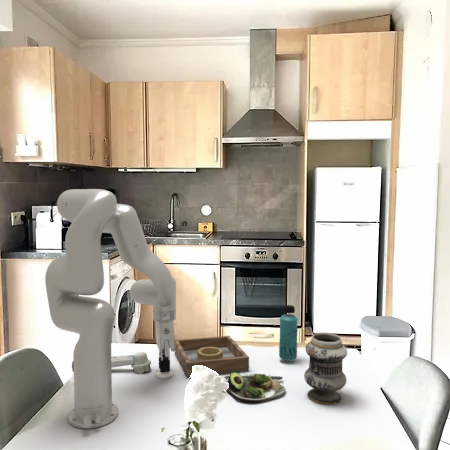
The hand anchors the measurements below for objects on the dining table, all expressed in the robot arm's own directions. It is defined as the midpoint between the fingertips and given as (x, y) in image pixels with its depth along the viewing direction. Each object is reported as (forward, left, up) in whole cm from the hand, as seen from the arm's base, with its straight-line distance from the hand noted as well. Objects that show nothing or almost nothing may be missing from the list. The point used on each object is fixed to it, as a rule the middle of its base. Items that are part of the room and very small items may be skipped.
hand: (164, 369), depth 142 cm
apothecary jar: (-28, -43, -2) cm, 51 cm away
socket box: (+7, -17, -2) cm, 18 cm away
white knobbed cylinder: (+8, +16, -2) cm, 18 cm away
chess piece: (0, 0, -2) cm, 2 cm away
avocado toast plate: (-18, -24, -2) cm, 30 cm away
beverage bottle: (0, -44, -2) cm, 44 cm away
